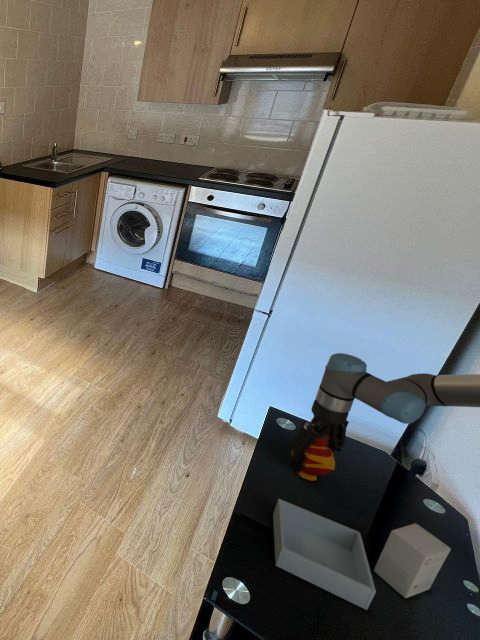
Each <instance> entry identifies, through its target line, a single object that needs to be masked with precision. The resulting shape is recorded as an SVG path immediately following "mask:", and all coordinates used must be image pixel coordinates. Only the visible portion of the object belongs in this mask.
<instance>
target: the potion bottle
mask: <svg viewBox="0 0 480 640" xmlns="http://www.w3.org/2000/svg"><path fill="white" fill-rule="evenodd" d="M314 432H315V433H317V432H316V431H315V430H314ZM317 434H318V433H317ZM329 438H330V437H329V435H328V434H324V435H323V436H322V437H321V438H318V439H317V440H316V441H315V442H314V443H313V444H312V446H311V447H310V448H309V449H308V450H307V451H306V452H305V455H306V458H305V460H304V463H303V466H302V469H301V471H300V473H297V474H298V475H299V476H300V477H301V478H303V479H306V480H307V481H311V482H313V481H318V480H317V479H318V478H317V476H324V475H325V476H326V475H328V474H331V473H332V471H335V470H336V469H335V468H336V460H335V453H333V452H332V451H331V450H330V449H329V448H328V447H327V446H325V445H324V444H327V445H328V443H329V442H328V439H329ZM290 452H291V453H290V454H291V457H292V456H293V453H294V451H292V450H291V449H290Z"/></svg>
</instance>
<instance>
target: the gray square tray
mask: <svg viewBox="0 0 480 640" xmlns="http://www.w3.org/2000/svg"><path fill="white" fill-rule="evenodd" d="M272 521H273V523H272V524H273V541H274V543H273V544H274V559H275V560H274V561H275V562H274V563H275V567H277V568H279V569H282V570H284V571H285V572H287V573H290V574H292V575H294V576H296V577H298V578H300V579H302V580H304V581H307V582H308V583H310V584H312V585H314V586H317V588H318V587H319V588H320V589H322V590H324V591H327V592H329V593H331V594H333V595H335V596H337V597H339V598H342V599H343V600H345V601H347V602H349V603H351V604H353V605H355V606H357V607H360V608H362V609H364V610H365V611H368V609H369V607H370V605H371V603H372V601H373V599H374V597H375V595H376V594H377V591H376V587H375V583H374V579H373V575H372V571H371V568H370V564H369V561H368V556H367V553H366V550H365V545H364V542H363V538H362V534H361V532H360V531H358V530H356V529H354V528H351V527H348V526H346V525H343V524H341V523H339V522H336V521H334V520H331V519H329V518H326V517H324V516H322V515H319V514H317V513H315V512H312V511H310V510H307V509H305V508H303V507H301V506H298V505H295V504H293V503H291V502H288V501H285V500H283V499H280V498H278V499H277V502H276V505H275V508H274V510H273V514H272Z"/></svg>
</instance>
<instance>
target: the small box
mask: <svg viewBox="0 0 480 640" xmlns="http://www.w3.org/2000/svg"><path fill="white" fill-rule="evenodd" d="M450 552H451V547H450V546H448V545H447V544H446V543H444V542H443V541H442V540H440V539H439V538H438V537H436V536H435V535H433V534H432V533H431V532H429V531H428V530H426V529H425V528H424V527H422V526H421V525H419V524H418V523H416V522H414V523H412V524H408V525H404V526H401V527H398V528H396V529H395V528H394V529H392V530H391V531H390V533H389V535H388V538H387V540H386V542H385V544H384V546H383V548H382V551H381V553H380V555H379V557H378V560H377V562H376V564H375V566H374V568H373V572H374V573H375V574H377V575H378V576H379V577H380V578H381V579H382V580H383V581H384V582H386V584H388V585H389V586H390V587H391V588H393V589H394V590H395V591H396V592H397V593H398V594H399V595H401V596H402V597H403V598H404V599H408V598H410V597H413V596H416V595H419V594H422V593H424V592H426V591H428V590H430V589H431V587H432V585H433V583H434V582H435V580H436V578H437V575H438V574H439V572H440V570H441V568H442V566H443V565H444V562H445V561H446V559H447V557H448V556H449V553H450Z"/></svg>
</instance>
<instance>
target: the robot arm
mask: <svg viewBox="0 0 480 640" xmlns="http://www.w3.org/2000/svg"><path fill="white" fill-rule="evenodd" d="M367 367H368V364H367V363H366V362H365V361H364V360H362V359H361V358H359V357H357V356H354V355H352V354H348V353H342V352H337V353H333V354H331V355H330V356H329V359H328V361H327V363H326V365H325V367H324V368H325V369H324V371H323V375H322V378H321V382H320V383H319V387H318V390H317V392H316V396H315V399H314V400H313V403H312V406H311V413H312V414H313V418H312V419H311V420H310V421H307V420H302V422H301V423H300V426H299V427H300V428H299V429H298V431H297V432H296V434H295V436H294V437H293V440H292V441H291V442H290V444H289V445H288V448H289V449H290V451H291V450H292V451H294V453H293V456H292V455H291V460H290V463H289V467H290V468H291V469H292V470H294V471H295V472H296V473H297V474H298V473H300V471H301V469H302V466H303V463H304V460H305V458H306V455H305V452H306V451H307V450H308V449H309V448H310V447H311V446H312V444H313V443H314V442H315V441H316V440H317V439H318V438H321V437H322V436H323V435H324V434H328V435H329V437H330V438H329V439H328V442H329V443H328V444H324V445H325V446H327V447H328V448H329V449H330V450H331V451H332V452H333V453H334V454H335V453H336V452H339V453H340V452H341V451H342V448H344V447H345V443H346V434H347V428H348V425H349V423H350V421H348V417H349V414H350V413H349V412H351V410H352V406H353V404H354V400H355V399H356V400H357V401H359V402H362V403H363V404H365V405H367V406H368V407H370V408H372V409H374V410H376V411H378V413H379V412H380V413H381V414H383V415H384V416H386V417H388V418H390V419H392V420H396V421H397V422H399V423H402V424H405V425H409V424H413V423H415V422H416V421H417V420H418V419H420V418H421V417H422V415H423V413H424V412H425V410H426V407H458V408H459V407H461V408H463V407H464V408H480V373H477V374H474V373H471V374H469V373H468V374H432V373H427V372H426V373H424V372H423V373H413V374H410V375H408V376H404V377H400V378H399V377H398V378H396V379H391V380H388V381H386V380H384V379H381V378H379V377H377V376H375V375H373V374H371V373H370V372H368V370H367ZM314 430H315V431H316V432H317V433H318V434H317V433H315V432H314Z"/></svg>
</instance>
